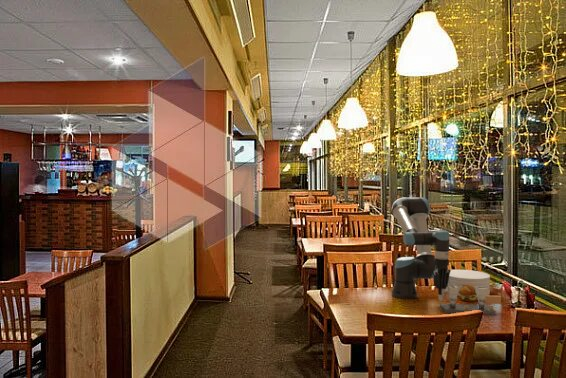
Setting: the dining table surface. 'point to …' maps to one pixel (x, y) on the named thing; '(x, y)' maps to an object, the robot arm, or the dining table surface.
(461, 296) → the cheeseburger
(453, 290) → the coupling
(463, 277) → the plate stack
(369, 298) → the dining table surface
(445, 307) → the lock plate
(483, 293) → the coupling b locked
